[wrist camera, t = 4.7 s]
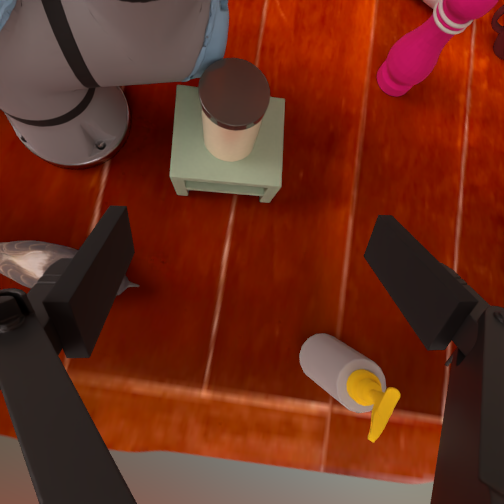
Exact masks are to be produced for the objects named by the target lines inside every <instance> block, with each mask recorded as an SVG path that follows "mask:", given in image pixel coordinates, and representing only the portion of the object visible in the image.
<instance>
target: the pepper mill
mask: <svg viewBox="0 0 504 504" xmlns="http://www.w3.org/2000/svg"><path fill="white" fill-rule="evenodd" d="M497 2H498V0H439V1H438V2H437V3H436V5H435V7H434V10H433V14H432V16H431V17H430V18H429V19H428V20H427V21H426V22H425V23H424V24H422V25H421V26H420V27H418V28H416V29H415V30H413V31H411V32H409V33H407V34H406V35H404V36H403V37H402V38H400V39H399V40H398V41H397V42H396V43H395V44H394V45H393V47H392V48H391V49H390V51H389V53H388V57H387V59H386V60H385V62H384V63H383V64H382V65H381V67H380V68H379V70H378V72H377V82H378V85H379V87H380V88H381V89H382V91H383V92H385V93H386V94H388V95H390V96H401V95H403V94H405V93H406V92H407V91H408V90H409V89H410V88H411V87H412V86H413V85H415V84H418V83H420V82H422V81H423V80H424V79H425V78H426V77H427V76H428V75H429V74H430V73H431V71H432V70H433V68H434V66H435V65H436V63H437V60H438V57H439V55H440V53H441V51H442V49H443V47H444V46H445V44H446V43H447V42H448V41H449V40H450V39H451V38H452V37H453V36H454V35H455V34H459V33H461V32H463V31H464V30H465V29H466V27H467V26H469V25H470V24H471V23H472V21H473V20H474V19H477V18H480V17H482V16H483V15H485V14H486V13H487V12H489V11H490V10H491V9H492V8H493V7H494V6H495V4H496V3H497Z"/></svg>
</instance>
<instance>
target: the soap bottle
mask: <svg viewBox="0 0 504 504" xmlns="http://www.w3.org/2000/svg"><path fill="white" fill-rule="evenodd" d="M299 355H300V365H301V367H302V369H303V371H304V373H305V374H306V375H307V376H309V377H310V378H311V379H312V380H313V381H314V382H316V383H317V384H318V385H319V386H320V387H322V388H323V389H324V390H325V391H327V392H328V393H329V394H330V395H331V396H333V397H334V398H335V399H336V400H338V401H339V402H340V403H341V404H342V405H344V406H345V407H346V408H347V409H349V410H351V411H354V412H357V413H363V412H369V411H371V410H372V415H371V426H370V431H369V434H368V440H370V441H372V442H373V443H374V441H375V440H376V439H377V438H378V437H379V436H380V434H381V433H382V431H383V429H384V427H385V425H386V424H387V422H388V419H389V417H390V416H391V414H392V412H393V409H394V407H395V405H396V403H397V401H398V400H399V398H400V393H399V391H398V390H397V389H396V388H394V387H390V388H387V390H386V383H385V376H384V374H383V372H382V370H381V368H380V367H379V366H378V365H377V364H376V363H374V362H373V361H372V360H370V359H369V358H367V357H365V356H364V355H362V354H361V353H359V352H357V351H356V350H354V349H353V348H351V347H349V346H348V345H346V344H345V343H343V342H341V341H340V340H338V339H337V338H335V337H333V336H331V335H328V334H325V333H323V334H315V335H313V336H312V337H310V338H308V339H307V340H306V342H305V343H304V344H303V345H302V348H301V351H300V354H299ZM385 390H386V391H385Z"/></svg>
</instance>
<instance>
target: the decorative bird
mask: <svg viewBox="0 0 504 504" xmlns="http://www.w3.org/2000/svg"><path fill="white" fill-rule="evenodd" d="M77 252H78V250H76V249H74V248H70V247H66V246H62V245H57V244H52V243H46V242H40V241H14V242H7V243H0V273H2V274H3V275H5V276H7V277H9V278H11V279H13V280H15V281H16V282H18V283H20V284H21V285H24V286H26V287H29V288H32V287H33V286H34V285H35V284H37V281H38V280H39V278H40V277H41V276H43V273H44V272H45V271H46V270H47V268H48V267H49V266H50V265H51V264H53V263H54V262H56V261H57V260H59V259H61V258H73V257H74V256H75V255H76V253H77ZM138 286H139V285H137V284H135V283H132V282H130V281H129V280H128V278H127V277H126V275H125V276H124V278H123V281H122V283H121V285H120V288H119V290H118V292H117V295H120V294H121V293H122V292H123V291H124V290H125V289H126V288H128V287H138Z"/></svg>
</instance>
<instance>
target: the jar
mask: <svg viewBox="0 0 504 504" xmlns="http://www.w3.org/2000/svg"><path fill="white" fill-rule="evenodd" d="M198 93H199V102H200V107H201V121H202V135H203V141H204V144H205V146H206V148H207V150H208V151H209V152H210V153H211V154H212V155H213V156H215V157H216V158H218V159H220V160H223V161H228V162H234V161H239V160H242V159H244V158H245V157H247V156H248V155H249V154H250V153H251V152H252V150H253V148H254V146H255V143H256V140H257V137H258V134H259V131H260V127H261V124H262V121H263V118H264V115H265V114H266V111H267V109H268V105H269V102H270V88H269V85H268V82H267V80H266V78H265V76H264V75H263V73H262V72H261V71H260V70H259V69H258V68H257V67H256V66H255V65H253V64H252V63H250V62H248V61H246V60H243V59H238V58H224V59H220V60H218V61H216V62H214V63H212V64H211V65H210V66H208V67H207V68H206V70H205V71H204V72H203V74H202V76H201V78H200V81H199V86H198Z"/></svg>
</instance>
